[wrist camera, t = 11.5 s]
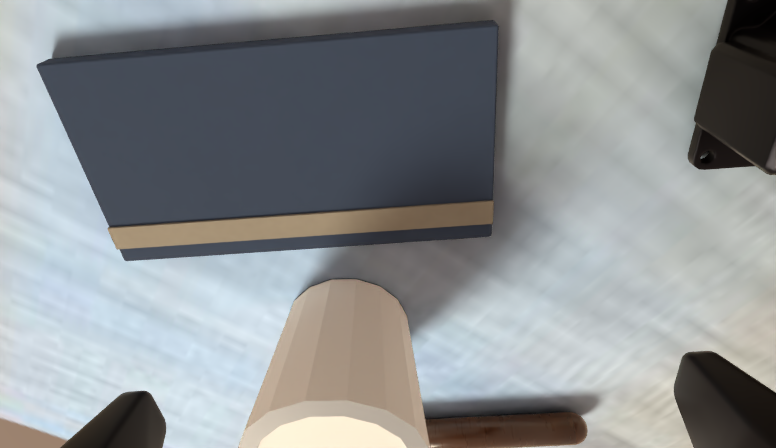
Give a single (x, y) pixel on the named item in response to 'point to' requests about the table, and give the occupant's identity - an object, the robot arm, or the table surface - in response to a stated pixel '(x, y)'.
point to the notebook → (287, 140)
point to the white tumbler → (341, 375)
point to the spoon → (507, 431)
